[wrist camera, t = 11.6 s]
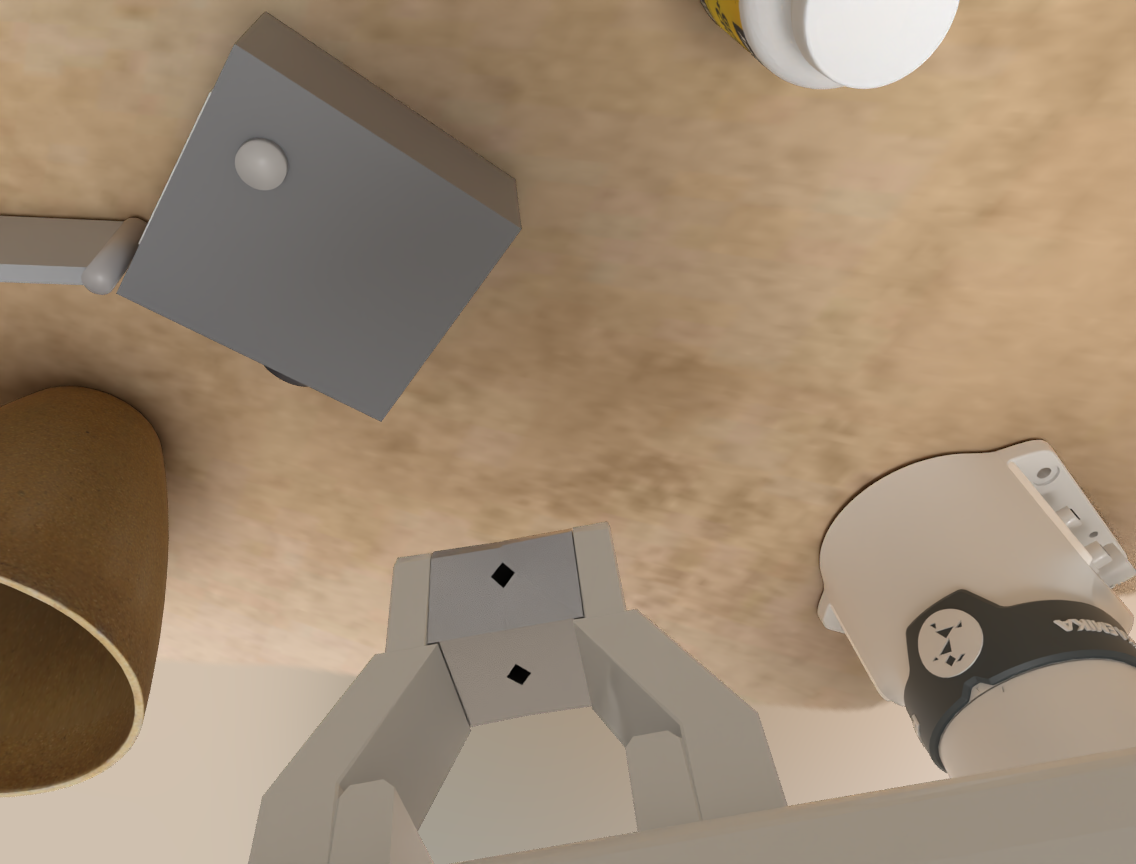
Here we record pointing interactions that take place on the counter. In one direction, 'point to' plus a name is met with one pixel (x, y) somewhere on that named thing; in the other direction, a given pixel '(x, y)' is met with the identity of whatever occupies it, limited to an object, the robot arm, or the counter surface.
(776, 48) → the pill bottle
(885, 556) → the robot arm
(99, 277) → the side door
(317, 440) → the counter surface
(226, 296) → the box
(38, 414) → the plant pot
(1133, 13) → the counter surface
